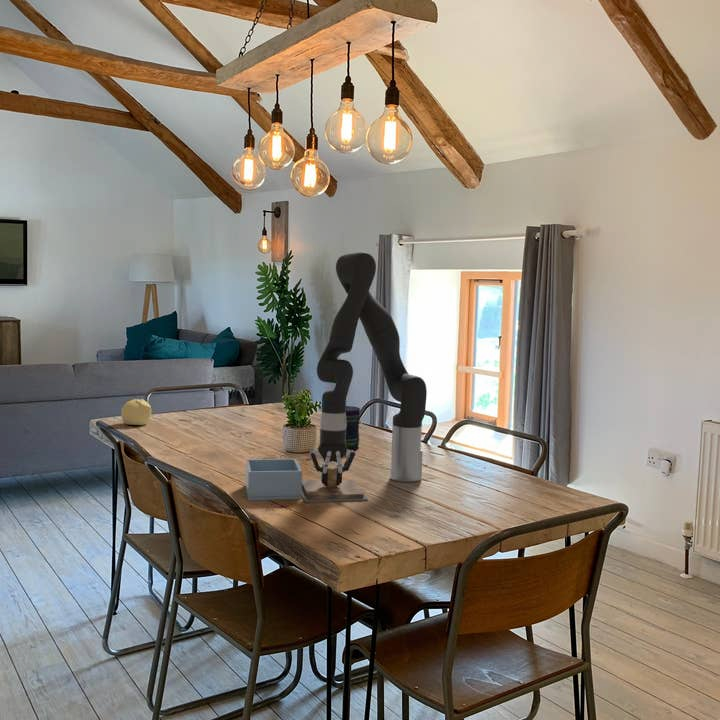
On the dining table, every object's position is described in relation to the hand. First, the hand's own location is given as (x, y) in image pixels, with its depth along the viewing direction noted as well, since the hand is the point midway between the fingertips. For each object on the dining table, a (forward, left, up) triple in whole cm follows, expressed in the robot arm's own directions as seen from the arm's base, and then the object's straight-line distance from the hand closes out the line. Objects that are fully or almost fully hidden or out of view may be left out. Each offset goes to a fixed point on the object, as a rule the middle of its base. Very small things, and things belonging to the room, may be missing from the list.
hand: (331, 484), depth 226 cm
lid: (0, 0, -2) cm, 2 cm away
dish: (+17, -2, -2) cm, 17 cm away
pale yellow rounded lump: (+64, -107, -3) cm, 125 cm away
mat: (0, 0, -2) cm, 2 cm away
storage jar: (-15, -59, -3) cm, 61 cm away
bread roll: (+17, -20, -3) cm, 26 cm away
